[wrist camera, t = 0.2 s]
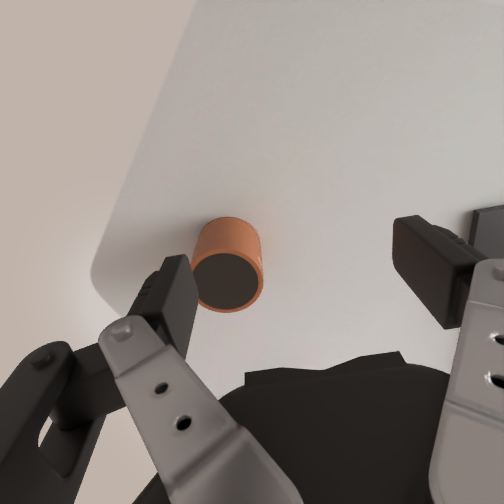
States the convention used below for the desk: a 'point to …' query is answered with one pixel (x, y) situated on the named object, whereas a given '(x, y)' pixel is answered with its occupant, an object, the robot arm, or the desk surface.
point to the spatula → (488, 232)
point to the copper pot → (227, 265)
